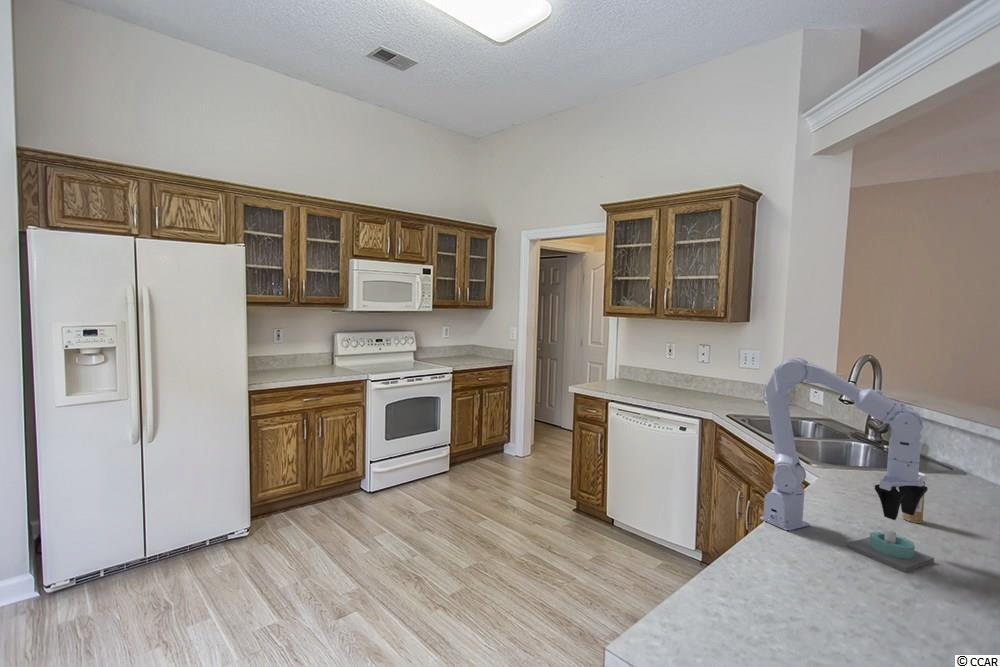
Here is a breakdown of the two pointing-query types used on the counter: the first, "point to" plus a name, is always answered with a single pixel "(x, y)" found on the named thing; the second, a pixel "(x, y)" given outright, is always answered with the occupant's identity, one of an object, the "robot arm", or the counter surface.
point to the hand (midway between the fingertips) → (898, 515)
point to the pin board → (898, 563)
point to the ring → (892, 545)
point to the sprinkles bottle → (919, 510)
